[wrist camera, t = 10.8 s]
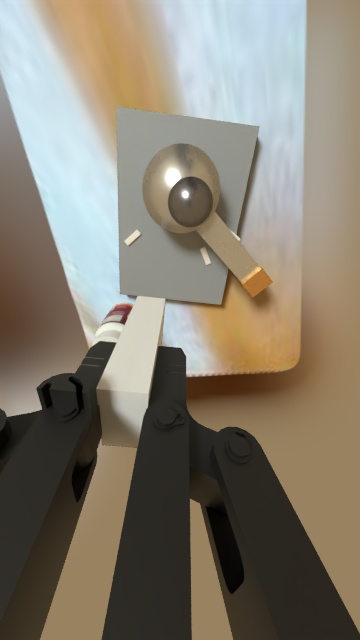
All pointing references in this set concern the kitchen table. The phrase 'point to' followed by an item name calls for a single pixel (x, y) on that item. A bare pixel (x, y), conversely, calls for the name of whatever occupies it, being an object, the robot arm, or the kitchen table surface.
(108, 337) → the pill bottle
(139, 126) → the stand board
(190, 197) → the silver ladle
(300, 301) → the kitchen table surface
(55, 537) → the robot arm
